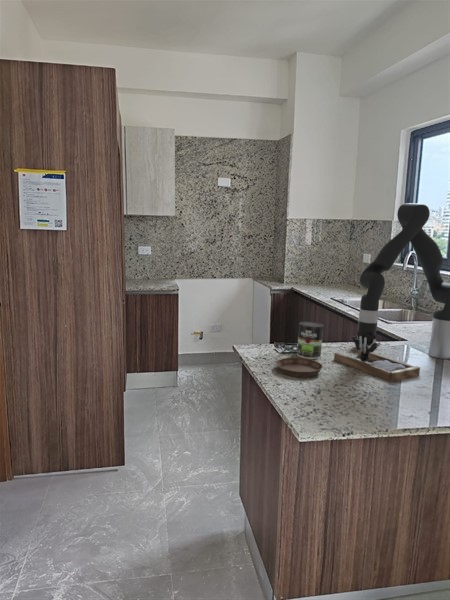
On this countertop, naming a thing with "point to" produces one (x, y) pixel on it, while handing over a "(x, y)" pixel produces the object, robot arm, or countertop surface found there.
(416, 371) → the wooden serving tray
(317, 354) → the coffee can
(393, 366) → the stone block
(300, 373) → the plant saucer
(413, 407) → the countertop surface
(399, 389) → the countertop surface
